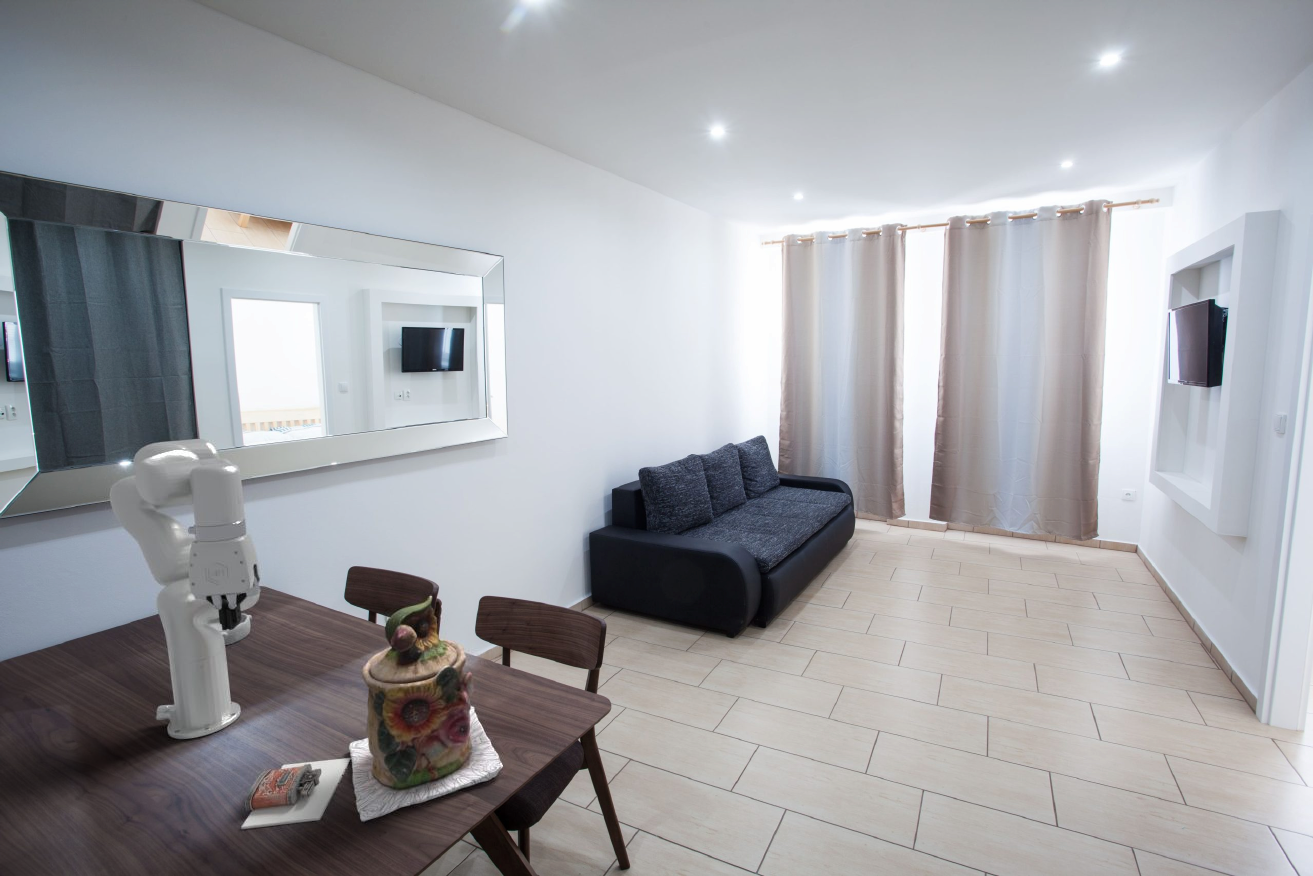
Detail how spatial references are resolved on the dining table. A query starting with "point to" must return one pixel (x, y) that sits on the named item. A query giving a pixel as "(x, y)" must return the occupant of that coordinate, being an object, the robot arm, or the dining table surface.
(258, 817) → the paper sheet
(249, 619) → the dish
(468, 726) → the cookie jar
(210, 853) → the dining table surface
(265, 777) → the lighter
